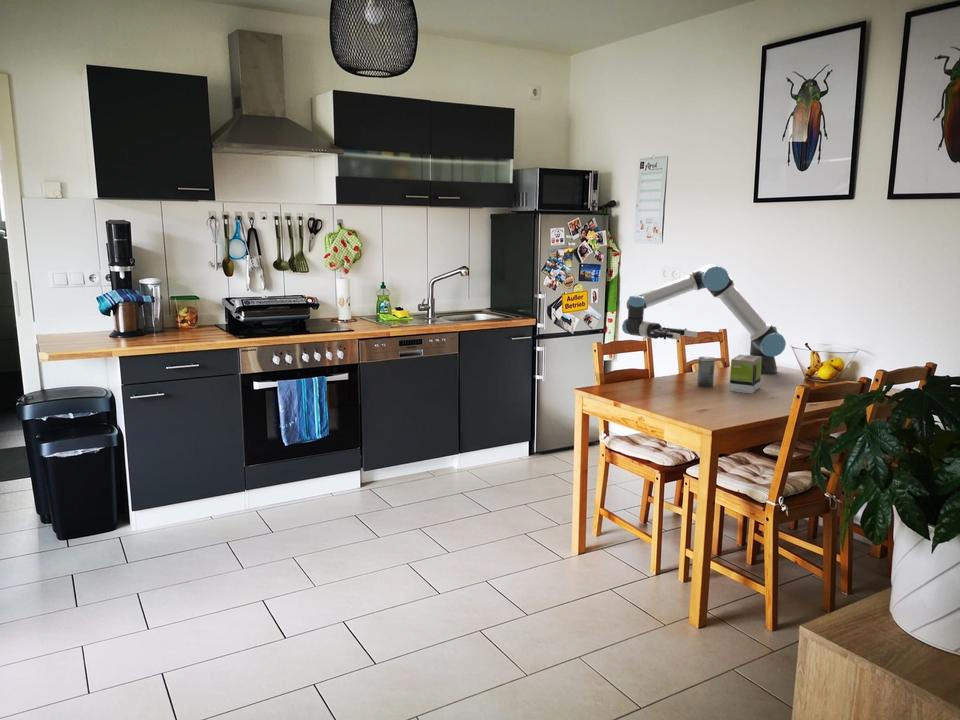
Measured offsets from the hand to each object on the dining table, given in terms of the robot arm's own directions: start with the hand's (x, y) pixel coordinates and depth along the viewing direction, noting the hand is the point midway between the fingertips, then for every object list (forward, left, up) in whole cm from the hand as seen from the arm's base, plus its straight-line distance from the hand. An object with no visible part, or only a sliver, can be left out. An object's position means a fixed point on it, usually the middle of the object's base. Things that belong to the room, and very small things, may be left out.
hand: (688, 335), depth 333 cm
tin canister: (-2, +10, -22) cm, 24 cm away
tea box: (-12, +24, -22) cm, 35 cm away
